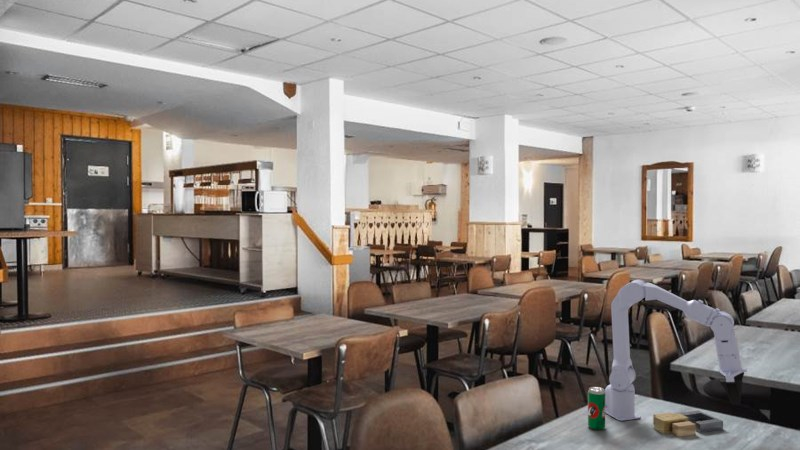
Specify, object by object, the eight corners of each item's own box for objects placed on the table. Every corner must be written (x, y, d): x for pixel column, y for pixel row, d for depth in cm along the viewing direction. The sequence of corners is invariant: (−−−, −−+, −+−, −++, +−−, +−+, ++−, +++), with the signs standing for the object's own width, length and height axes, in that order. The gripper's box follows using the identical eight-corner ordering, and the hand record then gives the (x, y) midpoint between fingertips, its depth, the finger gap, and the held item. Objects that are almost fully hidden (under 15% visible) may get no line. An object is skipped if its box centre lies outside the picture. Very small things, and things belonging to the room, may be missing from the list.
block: (654, 429, 174) (654, 416, 174) (678, 425, 177) (678, 413, 177) (663, 434, 170) (663, 421, 170) (688, 430, 173) (688, 417, 173)
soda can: (606, 431, 173) (606, 391, 172) (588, 430, 174) (588, 390, 173) (604, 425, 177) (604, 386, 177) (586, 424, 178) (586, 385, 178)
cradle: (676, 421, 180) (676, 413, 180) (698, 418, 182) (698, 410, 182) (700, 432, 171) (700, 424, 171) (723, 429, 173) (723, 421, 173)
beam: (653, 423, 178) (653, 414, 178) (669, 421, 180) (669, 412, 180) (678, 436, 168) (678, 426, 168) (695, 434, 170) (695, 424, 170)
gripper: (742, 359, 160) (751, 408, 159) (744, 348, 172) (753, 393, 171) (714, 359, 164) (722, 407, 163) (718, 349, 176) (726, 393, 175)
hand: (736, 400), depth 168 cm, fingers open, 7 cm apart
